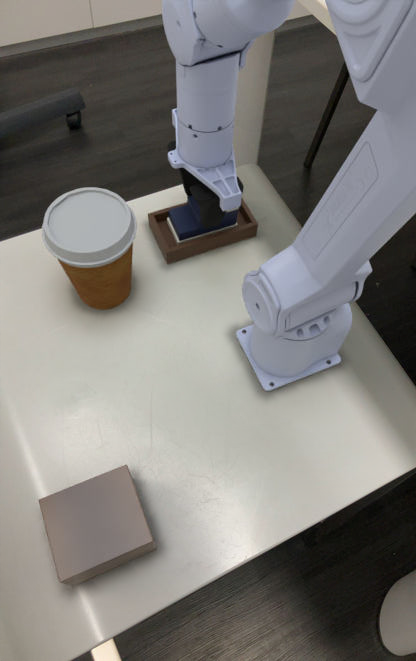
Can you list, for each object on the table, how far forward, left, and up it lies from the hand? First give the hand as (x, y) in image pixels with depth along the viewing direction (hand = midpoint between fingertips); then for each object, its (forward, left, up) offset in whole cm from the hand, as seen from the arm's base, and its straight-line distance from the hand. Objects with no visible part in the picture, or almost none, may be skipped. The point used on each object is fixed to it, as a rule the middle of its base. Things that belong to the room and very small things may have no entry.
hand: (203, 209), depth 63 cm
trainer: (0, 0, -3) cm, 3 cm away
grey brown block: (+22, +30, -4) cm, 38 cm away
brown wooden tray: (0, 0, -4) cm, 4 cm away
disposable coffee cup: (+14, +4, -4) cm, 15 cm away
